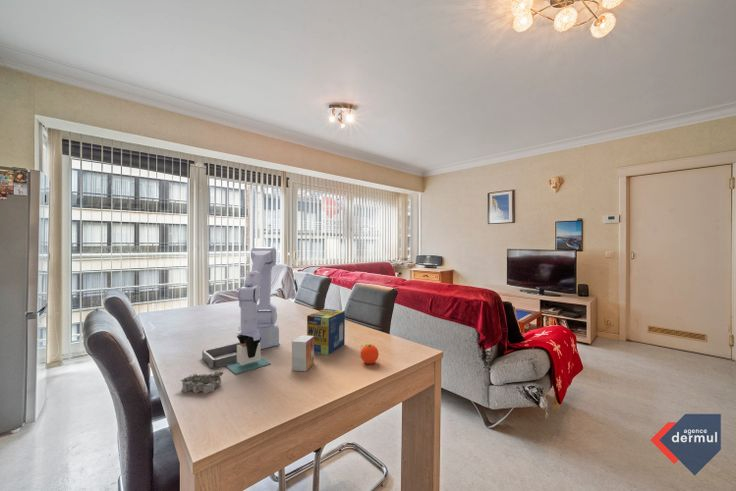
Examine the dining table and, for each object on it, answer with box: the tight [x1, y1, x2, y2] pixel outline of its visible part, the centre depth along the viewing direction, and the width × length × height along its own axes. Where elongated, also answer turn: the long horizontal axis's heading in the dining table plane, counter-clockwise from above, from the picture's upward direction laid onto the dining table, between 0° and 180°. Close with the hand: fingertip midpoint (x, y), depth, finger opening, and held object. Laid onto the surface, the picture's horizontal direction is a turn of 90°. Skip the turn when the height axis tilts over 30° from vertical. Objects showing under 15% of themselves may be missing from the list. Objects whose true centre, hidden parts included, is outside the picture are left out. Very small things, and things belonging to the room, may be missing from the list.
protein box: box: [306, 308, 346, 357], centre depth 128 cm, size 10×15×16 cm
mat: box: [225, 356, 271, 376], centre depth 110 cm, size 13×9×1 cm
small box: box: [291, 334, 315, 372], centre depth 109 cm, size 8×6×10 cm
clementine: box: [360, 343, 379, 365], centre depth 113 cm, size 8×7×7 cm
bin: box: [201, 341, 240, 370], centre depth 117 cm, size 15×14×3 cm
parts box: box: [236, 343, 261, 365], centre depth 110 cm, size 4×7×6 cm, turn 134°
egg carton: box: [179, 371, 224, 394], centre depth 93 cm, size 11×8×4 cm
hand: (248, 355), depth 110 cm, fingers closed on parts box, 4 cm apart
